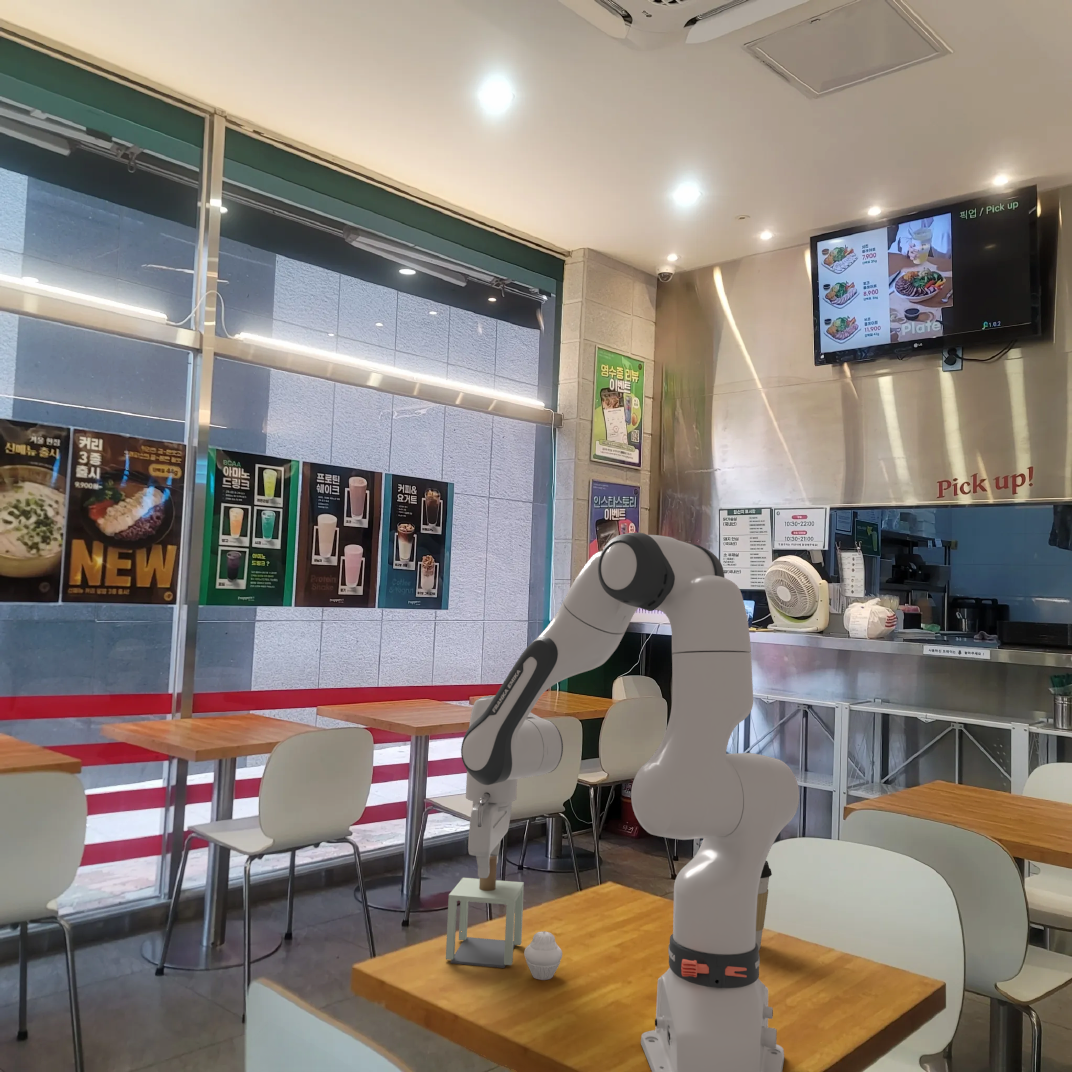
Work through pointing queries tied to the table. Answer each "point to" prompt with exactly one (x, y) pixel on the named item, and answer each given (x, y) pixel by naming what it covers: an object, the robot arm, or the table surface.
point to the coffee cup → (762, 902)
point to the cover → (486, 893)
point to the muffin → (543, 956)
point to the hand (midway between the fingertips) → (487, 871)
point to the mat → (481, 952)
